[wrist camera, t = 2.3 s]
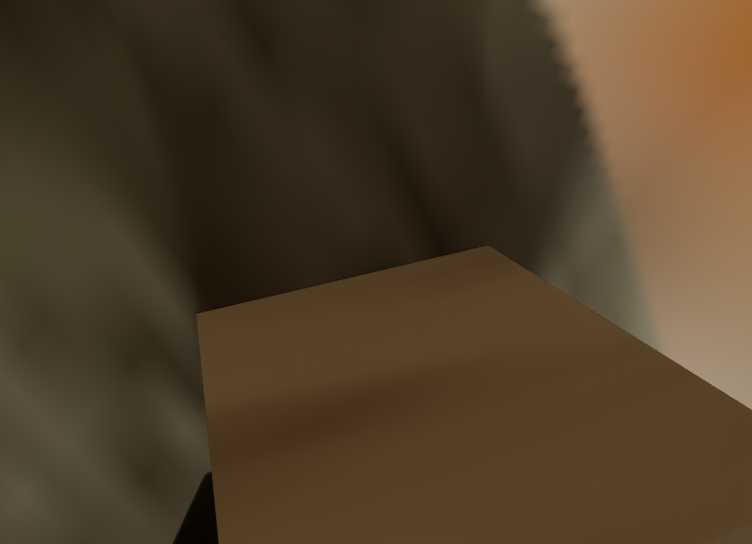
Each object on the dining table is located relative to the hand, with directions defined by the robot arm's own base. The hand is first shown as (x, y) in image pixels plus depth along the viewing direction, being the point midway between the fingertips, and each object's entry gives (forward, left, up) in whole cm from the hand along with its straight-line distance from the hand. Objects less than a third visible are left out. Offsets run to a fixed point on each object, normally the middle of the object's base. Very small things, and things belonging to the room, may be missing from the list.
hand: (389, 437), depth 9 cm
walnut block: (0, 0, -1) cm, 1 cm away
